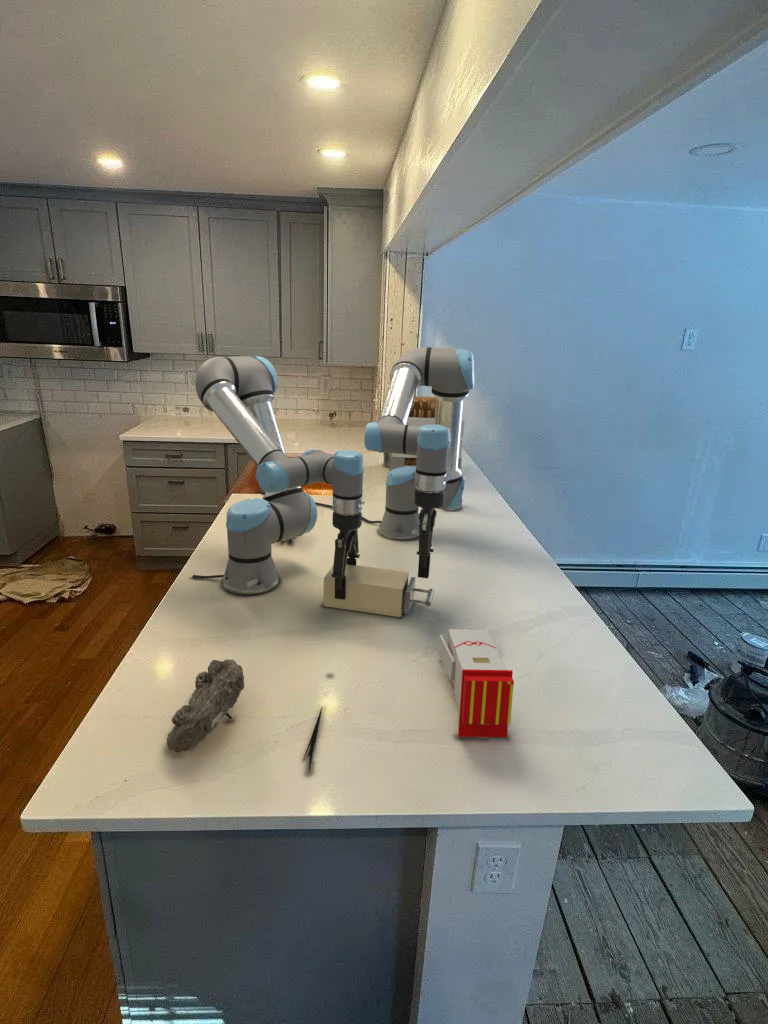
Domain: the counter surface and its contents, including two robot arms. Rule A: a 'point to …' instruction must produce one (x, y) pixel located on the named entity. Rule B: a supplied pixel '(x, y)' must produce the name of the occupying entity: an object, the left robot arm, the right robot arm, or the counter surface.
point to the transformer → (418, 416)
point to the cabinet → (369, 590)
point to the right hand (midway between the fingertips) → (423, 576)
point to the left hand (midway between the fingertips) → (345, 589)
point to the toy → (478, 682)
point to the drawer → (410, 595)
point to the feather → (313, 740)
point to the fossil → (206, 705)
